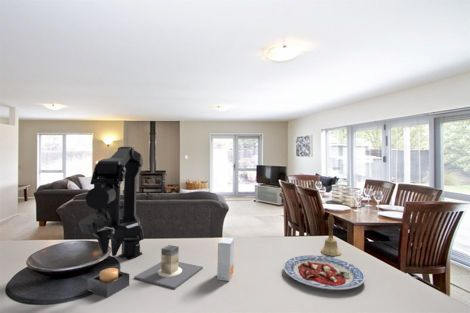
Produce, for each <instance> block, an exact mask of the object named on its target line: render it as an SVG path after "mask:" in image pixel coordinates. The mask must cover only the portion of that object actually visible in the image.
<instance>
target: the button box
mask: <svg viewBox="0 0 470 313" xmlns="http://www.w3.org/2000/svg"><path fill="white" fill-rule="evenodd" d="M86 285H87V289H89V290H91V291H92V293H91V294H94V295H97V296H100V297H103V298H106V299H108V298H110V297H111V296H113V295H115V294H116V293H118V292H120V291H121V290H124V289H126V288H127V287H129V286H130V273H128V272H125V271H124V272H123V271H120V270H118V278H117V279H115V280H113V281H111V282H109V283H106V282H102V281H100V273H99V274H96V275H94V276H92V277H91V278H90V277H89V278H88V279H87V284H86ZM87 289H86V290H87Z"/></svg>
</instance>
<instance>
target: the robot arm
mask: <svg viewBox="0 0 470 313" xmlns="http://www.w3.org/2000/svg"><path fill="white" fill-rule="evenodd" d="M134 148H135V147H132V146H119V147H118V148H117V150H116V151H115V152H114V154H113V155H112V156H110V157H109V158H103V159H100V160H98V162H97V163H96V164H95V166H94V169H93V173H92V175H91V179H90V182H89V183H90V185H93V188H91V189H90V190H88V191H87V194H86V195H85V202H86V204H87V206H88V207H89V208H90V209H93V210H94V212H93V213H92V214H89V215H88V216H86V217H84V218H83V219H81V220H79V222H78V224H79V229H80V230H81V233H82V234H88V235H93V236H94V237H95V238H96V240H97V242H98V244H99V248H100V250H101V252H102V254H103V255H106V254H107V252H108V249H109V245H110V248H111V251H110V252H111V256H112V257H115V256H116V255H117V254H118V252H119V250H120V248H121V253H120V254H118V256H117V257H119V258H123V259H128V260H132V259H134V258H136V257H139V256H140V255H143V251H142V252H141V243H140V242H141V241H143V240H144V237H145V236H144V229H143V228H142V225H141V220H140V218H139V216H138V215H137V184H138V183H137V179H138V176H139V175H140V173H141V172H142V167H143V164H144V159H143V157H142V154H141V153H140V152H138V151H137V150H135V149H134ZM122 182H123V184H124V185H123V204H121V184H122ZM122 209H123V216H122V217H121V210H122ZM109 243H110V244H109Z"/></svg>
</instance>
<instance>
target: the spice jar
mask: <svg viewBox="0 0 470 313" xmlns="http://www.w3.org/2000/svg"><path fill="white" fill-rule="evenodd" d="M160 259H161V261H160V262H161V273H166V274H170V275H171V274H173V273H174V272H176V271H178V262H179V246H177V245H171V244H169V245H166V246H164V247H162V248H161V257H160Z"/></svg>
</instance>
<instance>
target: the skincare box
mask: <svg viewBox="0 0 470 313" xmlns="http://www.w3.org/2000/svg"><path fill="white" fill-rule="evenodd" d="M234 245H235V238H234V237H233V238H232V237H230V238H229V237H222V238H221V239H220V240H219V241H218V243H217V267H216V268H217V271H216V272H217V274H216V279H217V280H218V281H227V282H230V280H231V278H232V276H233V275H234V262H235V261H234V256H235V255H234V254H235V253H234V251H235V250H234V249H235V248H234V247H235V246H234Z"/></svg>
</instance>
